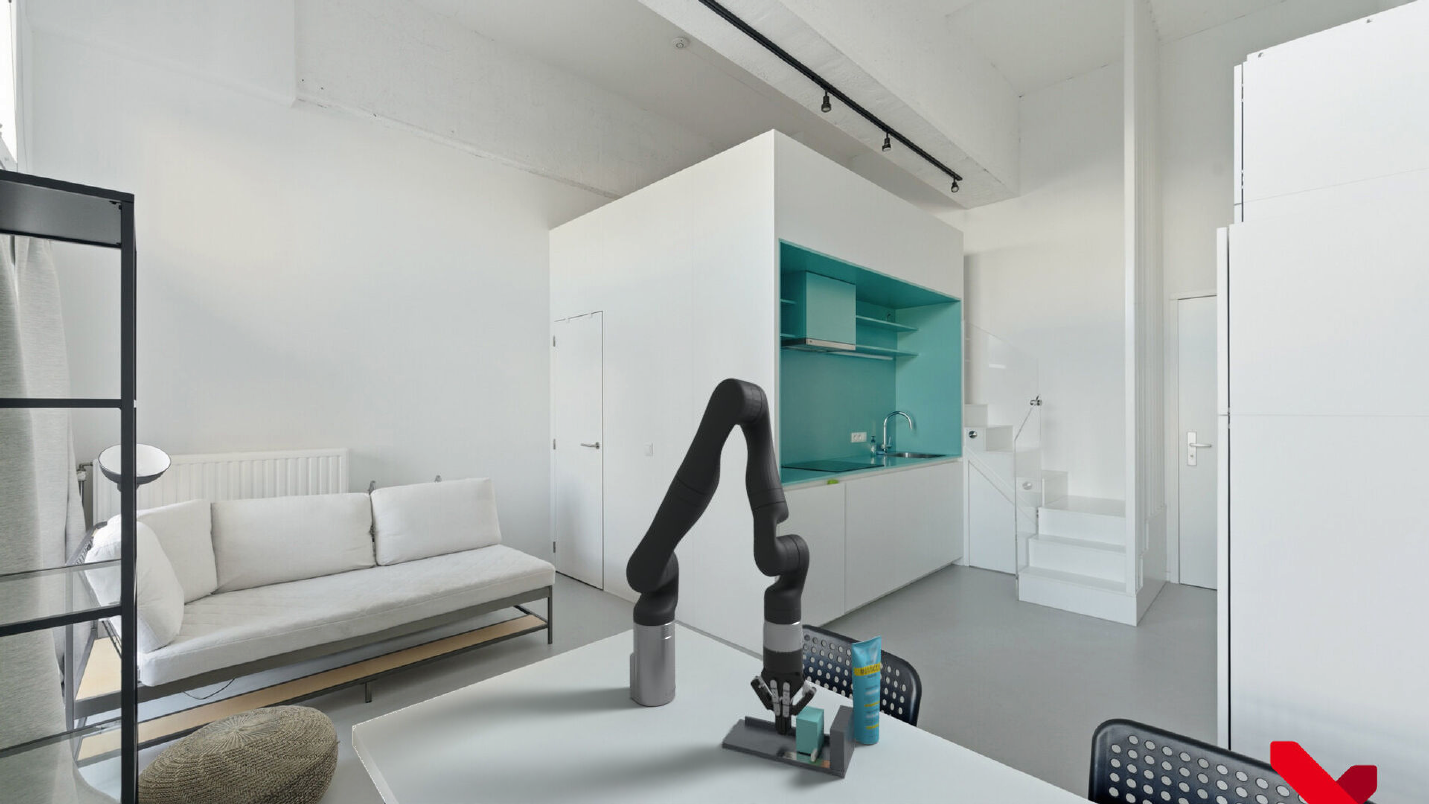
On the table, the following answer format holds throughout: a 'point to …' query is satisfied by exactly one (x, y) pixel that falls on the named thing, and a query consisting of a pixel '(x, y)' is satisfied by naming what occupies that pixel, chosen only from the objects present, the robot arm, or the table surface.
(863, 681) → the tube
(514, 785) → the table surface
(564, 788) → the table surface
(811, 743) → the block
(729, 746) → the base
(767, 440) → the robot arm
